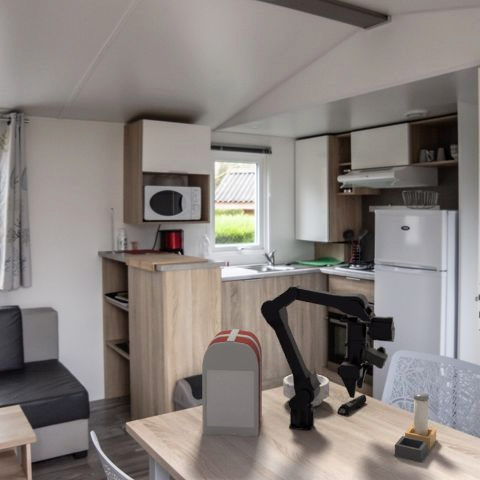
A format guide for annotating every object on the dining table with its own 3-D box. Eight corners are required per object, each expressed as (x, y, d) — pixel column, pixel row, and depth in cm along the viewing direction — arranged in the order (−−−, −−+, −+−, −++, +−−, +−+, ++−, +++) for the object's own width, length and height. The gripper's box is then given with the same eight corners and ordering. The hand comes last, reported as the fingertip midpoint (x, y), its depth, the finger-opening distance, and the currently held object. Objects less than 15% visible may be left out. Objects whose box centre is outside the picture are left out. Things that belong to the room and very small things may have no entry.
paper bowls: (285, 411, 178) (285, 386, 178) (281, 395, 194) (281, 372, 193) (332, 410, 179) (333, 386, 178) (325, 395, 194) (325, 372, 193)
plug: (415, 444, 150) (416, 397, 149) (411, 439, 154) (412, 392, 153) (429, 445, 150) (430, 397, 149) (425, 439, 154) (426, 392, 153)
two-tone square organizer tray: (422, 467, 139) (422, 451, 139) (392, 459, 144) (392, 444, 143) (438, 444, 153) (438, 430, 153) (410, 438, 157) (410, 424, 157)
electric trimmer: (369, 404, 186) (369, 395, 186) (346, 417, 174) (347, 407, 174) (359, 402, 188) (359, 392, 188) (336, 414, 176) (336, 404, 176)
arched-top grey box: (262, 413, 176) (262, 328, 175) (259, 436, 159) (259, 342, 157) (210, 412, 178) (210, 327, 176) (201, 434, 160) (200, 341, 159)
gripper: (378, 349, 147) (378, 407, 148) (391, 334, 164) (390, 387, 164) (337, 344, 151) (336, 401, 152) (353, 331, 168) (353, 382, 169)
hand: (356, 392), depth 159 cm, fingers open, 9 cm apart
